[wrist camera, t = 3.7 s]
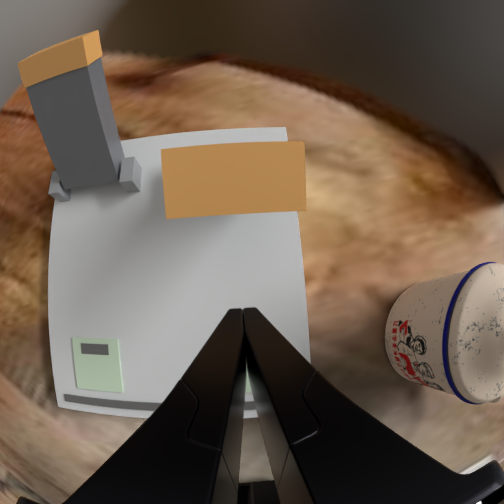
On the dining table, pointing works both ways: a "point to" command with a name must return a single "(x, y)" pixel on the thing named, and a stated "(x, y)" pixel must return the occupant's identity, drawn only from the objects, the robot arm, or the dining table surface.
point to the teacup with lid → (452, 334)
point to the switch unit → (159, 280)
